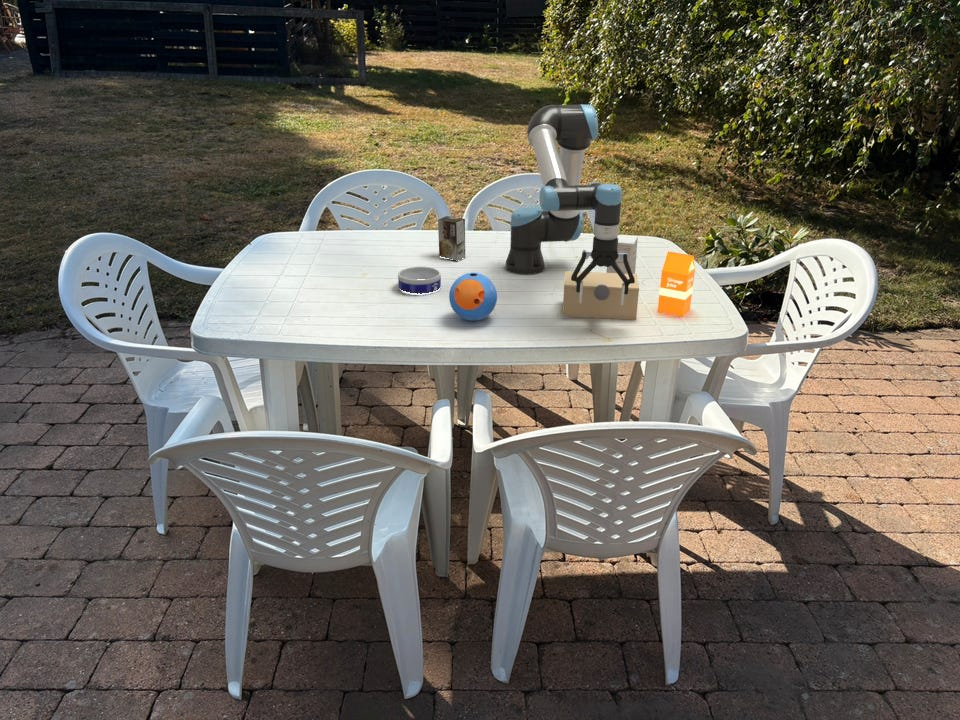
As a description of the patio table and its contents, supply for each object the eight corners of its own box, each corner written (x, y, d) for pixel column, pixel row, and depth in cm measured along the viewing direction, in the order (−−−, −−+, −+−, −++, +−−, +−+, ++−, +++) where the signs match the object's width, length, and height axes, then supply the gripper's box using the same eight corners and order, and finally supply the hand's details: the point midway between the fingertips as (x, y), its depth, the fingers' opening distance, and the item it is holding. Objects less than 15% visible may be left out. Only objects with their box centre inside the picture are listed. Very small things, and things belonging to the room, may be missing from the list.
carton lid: (562, 300, 243) (563, 285, 241) (565, 276, 264) (565, 262, 262) (640, 304, 240) (641, 289, 238) (636, 279, 261) (637, 265, 259)
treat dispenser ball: (500, 312, 258) (501, 268, 252) (491, 329, 245) (491, 284, 238) (456, 308, 262) (455, 265, 255) (444, 325, 248) (443, 280, 241)
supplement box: (635, 280, 287) (639, 236, 280) (631, 288, 279) (635, 243, 272) (609, 277, 290) (612, 234, 282) (604, 285, 282) (608, 241, 275)
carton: (562, 316, 255) (563, 287, 251) (563, 300, 268) (565, 273, 263) (636, 319, 252) (638, 290, 248) (634, 304, 265) (636, 276, 261)
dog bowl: (417, 278, 289) (416, 263, 286) (449, 287, 281) (449, 271, 278) (389, 290, 278) (389, 274, 275) (423, 299, 270) (422, 283, 267)
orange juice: (682, 316, 255) (689, 258, 246) (657, 311, 259) (663, 254, 250) (690, 309, 261) (697, 252, 252) (665, 304, 265) (671, 248, 256)
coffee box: (466, 258, 311) (465, 218, 304) (457, 262, 306) (456, 222, 299) (447, 254, 315) (446, 215, 308) (438, 258, 310) (437, 219, 304)
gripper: (565, 238, 233) (561, 305, 242) (647, 241, 230) (641, 308, 239) (565, 231, 240) (562, 296, 249) (645, 234, 237) (639, 300, 246)
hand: (601, 302), depth 244 cm, fingers open, 12 cm apart
